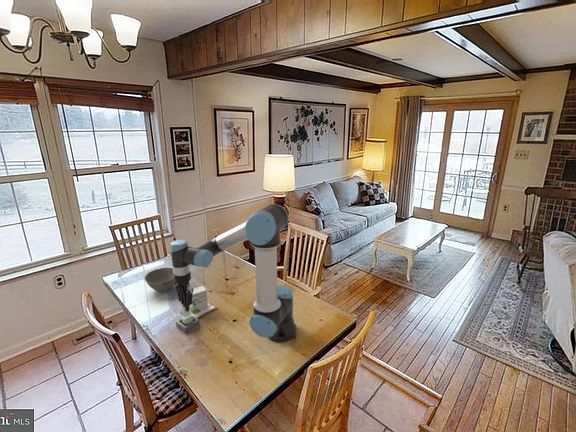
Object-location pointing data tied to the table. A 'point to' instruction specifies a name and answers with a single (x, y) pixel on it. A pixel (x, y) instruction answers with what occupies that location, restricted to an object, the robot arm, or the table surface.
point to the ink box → (199, 300)
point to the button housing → (188, 327)
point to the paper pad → (204, 312)
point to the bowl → (160, 279)
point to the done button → (187, 320)
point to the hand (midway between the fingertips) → (186, 315)
